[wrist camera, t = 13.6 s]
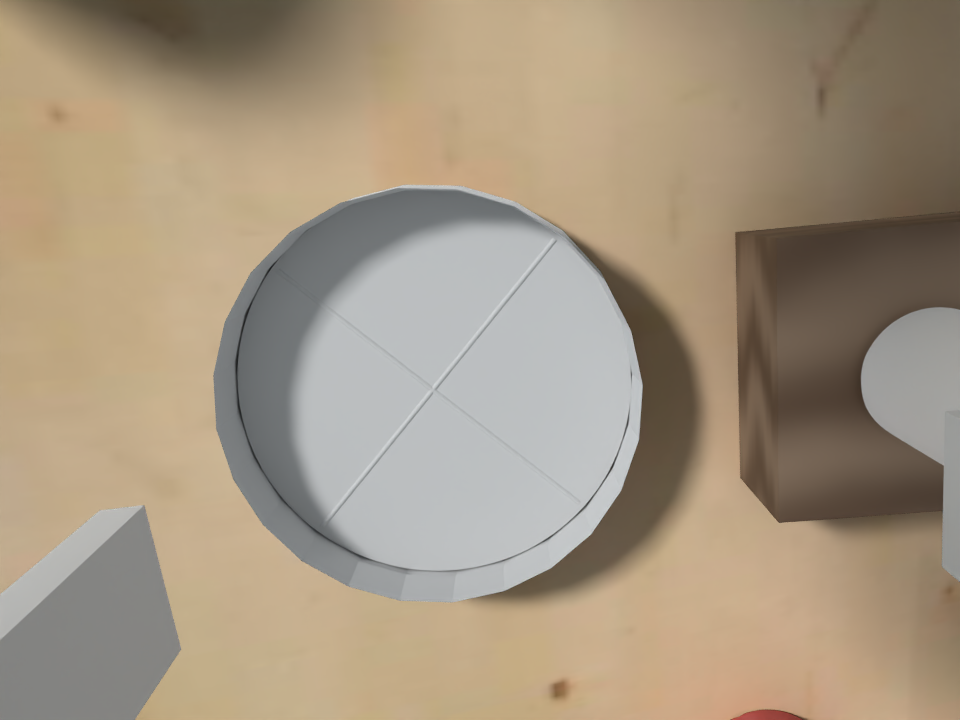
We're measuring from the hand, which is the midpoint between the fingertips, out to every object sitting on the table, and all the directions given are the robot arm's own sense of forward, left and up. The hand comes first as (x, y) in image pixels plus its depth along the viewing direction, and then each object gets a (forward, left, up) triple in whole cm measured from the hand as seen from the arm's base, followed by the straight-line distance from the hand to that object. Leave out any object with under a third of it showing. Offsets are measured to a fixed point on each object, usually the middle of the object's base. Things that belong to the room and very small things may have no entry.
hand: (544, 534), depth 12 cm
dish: (+4, -5, -30) cm, 30 cm away
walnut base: (+4, +19, -29) cm, 35 cm away
